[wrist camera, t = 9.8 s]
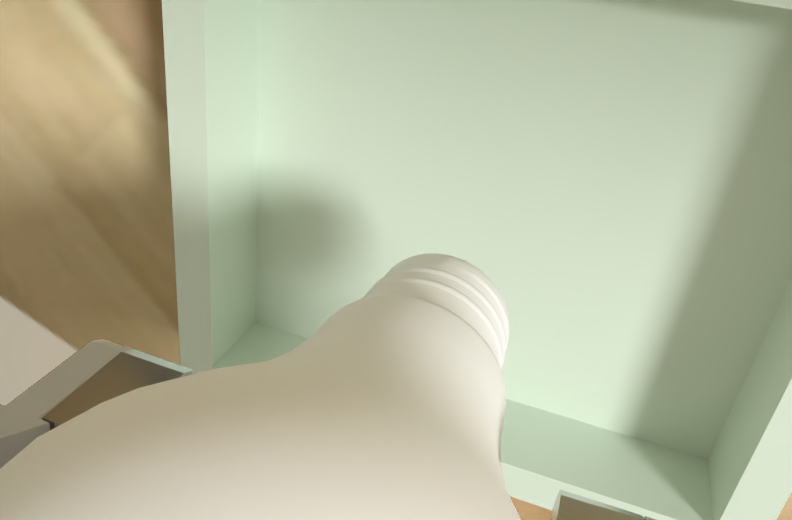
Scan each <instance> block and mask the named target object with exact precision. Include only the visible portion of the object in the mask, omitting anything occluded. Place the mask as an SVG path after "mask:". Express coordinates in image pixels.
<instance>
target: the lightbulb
mask: <svg viewBox="0 0 792 520" xmlns="http://www.w3.org/2000/svg"><path fill="white" fill-rule="evenodd" d="M509 329H510V317H509V310H508V307H507V304H506V301H505V299H504V297H503V295H502V293H501V291H500V290H499V288H498V287H497V286H496V284H495V283H494V282H493V281H492V280H491V278H490V277H489V276H487V275H486V274H485V273H484V272H483V271H481V270H480V269H479V268H478V267H476V266H474V265H472V264H471V263H469V262H467V261H465V260H462V259H460V258H457V257H454V256H450V255H445V254H439V253H425V254H420V255H415V256H412V257H409V258H407V259H404V260H402V261H400V262H399V263H398V264H396V265H395V266H393V267H392V268H391V269H390V270H389V271H388V272H387V274H386V275H385V276H384V277H383V278H381V279H380V280H379V281H377V282H376V283H375V285H374V286H373V287H372V288H371V289H370V290H369V292H367V293H366V295H365V296H364V297H363V298H362V299H359V300H357V301H354V302H352V303H350V304H347V305H345V306H344V307H342V308H341V309H339V310H338V311H337V312H335V313H334V314H332V315H331V316H330V317H329V318H328V319H327V320H326V321H325V322H324V323H323V324H322V326H321V327H320V328H319V329H318V330H317V331H316V332H315V333H314V334H313V335H312V336H311V337H310V338H309V339H307V340H306V341H305V342H303V343H302V344H300V345H299V346H298V347H296V348H295V349H293V350H292V351H291V352H288V353H286V354H283V355H281V356H279V357H276V358H274V359H271V360H269V361H265V362H258V363H251V364H244V365H237V366H230V367H224V368H217V369H212V370H208V371H204V372H200V373H196V374H192V375H188V376H184V377H180V378H176V379H172V380H168V381H164V382H160V383H156V384H152V385H148V386H144V387H140V388H137V389H135V390H132V391H130V392H127V393H125V394H122V395H120V396H117V397H115V398H112V399H110V400H107V401H105V402H102V403H100V404H98V405H97V406H95V407H93V408H91V409H89V410H87V411H85V412H84V413H82V414H80V415H78V416H76V417H74V418H72V419H71V420H69V421H67V422H65V423H63V424H61V425H59V426H58V427H56V428H54V429H52V430H50V431H48V432H46V433H45V434H43V435H41V436H39V437H37V438H36V439H35V440H34V441H32V442H31V443H30V444H29V445H28V446H27V447H25V448H24V449H23V450H22V451H21V452H19V453H18V454H17V455H16V456H15V457H14V458H12V459H11V460H10V461H9V462H8V463H7V464H5V465H4V466H3V467H2V468H1V469H0V520H521V519H520V517H519V515H518V513H517V511H516V509H515V507H514V505H513V503H512V501H511V499H510V497H509V495H508V493H507V491H506V487H505V483H504V479H503V474H502V470H501V442H500V438H501V432H502V427H503V422H504V416H505V409H506V402H507V401H506V391H505V382H504V378H503V375H502V372H501V371H502V366H503V363H504V359H505V352H506V350H507V346H508V339H509Z"/></svg>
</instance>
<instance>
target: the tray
mask: <svg viewBox="0 0 792 520" xmlns="http://www.w3.org/2000/svg"><path fill="white" fill-rule="evenodd" d="M162 16H163V36H164V55H165V75H166V94H167V114H168V133H169V153H170V172H171V192H172V212H173V231H174V251H175V270H176V290H177V309H178V329H179V348H180V365H181V366H183V367H186V368H189V369H192V370H194V371H195V372H197V373H200V372H204V371H208V370H212V369H217V368H224V367H230V366H237V365H244V364H251V363H258V362H265V361H269V360H271V359H274V358H276V357H279V356H281V355H283V354H286V353H288V352H291V351H292V350H293V349H295V348H296V347H298V346H299V345H300V344H302V343H303V342H305V341H306V340H307V339H309V338H310V337H311V336H312V335H313V334H314V333H315V332H316V331H317V330H318V329H319V328H320V327H321V326H322V324H323V323H324V322H325V321H326V320H327V319H328V318H329V317H330V316H331V315H332V314H334V313H335V312H337V311H338V310H339V309H341V308H342V307H344V306H345V305H347V304H350V303H352V302H354V301H357V300H359V299H362V298H363V297H364V296H365V295H366V293H367V292H369V290H370V289H371V288H372V287H373V286H374V285H375V283H376V282H377V281H379V280H380V279H381V278H383V277H384V276H385V275H386V274H387V272H388V271H389V270H390V269H391V268H392V267H393V266H395V265H396V264H398V263H399V262H400V261H402V260H404V259H407V258H409V257H412V256H415V255H420V254H425V253H439V254H445V255H450V256H454V257H457V258H460V259H462V260H465V261H467V262H469V263H471V264H472V265H474V266H476V267H478V268H479V269H480V270H481V271H483V272H484V273H485V274H486V275H487V276H489V277H490V278H491V280H492V281H493V282H494V283H495V284H496V286H497V287H498V288H499V290H500V291H501V293H502V295H503V297H504V299H505V301H506V304H507V307H508V310H509V317H510V329H509V339H508V346H507V350H506V352H505V359H504V363H503V366H502V371H501V372H502V375H503V378H504V382H505V391H506V401H507V402H506V409H505V416H504V422H503V427H502V432H501V438H500V442H501V470H502V474H503V479H504V483H505V487H506V491H507V493H508V495H509V496H511V497H514V498H517V499H520V500H523V501H526V502H529V503H532V504H534V505H537V506H540V507H543V508H546V509H549V510H552V509H553V506H554V503H555V500H556V497H557V495H558V493H559V490H560V489H561V490H564V491H567V492H570V493H573V494H576V495H580V496H583V497H586V498H589V499H592V500H595V501H598V502H602V503H605V504H608V505H611V506H614V507H617V508H621V509H624V510H627V511H630V512H633V513H636V514H639V515H642V516H643V517H645V516H647V517H650V518H653V519H656V520H776V519H777V517H778V515H779V514H780V512H781V510H782V508H783V507H784V505H785V503H786V501H787V499H788V498H789V496H790V494H791V492H792V0H162Z"/></svg>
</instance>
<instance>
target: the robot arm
mask: <svg viewBox="0 0 792 520" xmlns="http://www.w3.org/2000/svg"><path fill="white" fill-rule="evenodd" d="M196 373H197V372H195V371H194V370H192V369H189V368H186V367H183V366H181V365H178V364H175V363H172V362H169V361H167V360H164V359H161V358H158V357H155V356H153V355H150V354H147V353H144V352H141V351H139V350H136V349H130V348H128V347H125V346H122V345H119V344H117V343H114V342H111V341H108V340H106V339H98V340H94V341H90V342H89V343H88V344H86V345H85V346H84V347H82V348H81V349H80V350H78V351H77V352H76V353H74V354H73V355H72V356H71V357H69V358H68V359H67V360H65V361H64V362H63V363H61V364H60V365H59V366H57V367H56V368H55V369H53V370H52V371H51V372H49V373H48V374H47V375H46V376H44V377H43V378H42V379H40V380H39V381H38V382H36V383H35V384H34V385H33V386H31V387H30V388H28V389H27V390H26V391H25V392H23V393H22V394H21V395H19V396H18V397H17V398H15V399H14V400H13V401H11V402H10V403H9V404H7V405H6V406H3V405H0V469H1V468H2V467H3V466H4V465H5V464H7V463H8V462H9V461H10V460H11V459H12V458H14V457H15V456H16V455H17V454H18V453H19V452H21V451H22V450H23V449H24V448H25V447H27V446H28V445H29V444H30V443H31V442H32V441H34V440H35V439H36V438H37V437H39V436H41V435H43V434H45V433H46V432H48V431H50V430H52V429H54V428H56V427H58V426H59V425H61V424H63V423H65V422H67V421H69V420H71V419H72V418H74V417H76V416H78V415H80V414H82V413H84V412H85V411H87V410H89V409H91V408H93V407H95V406H97V405H98V404H100V403H102V402H105V401H107V400H110V399H112V398H115V397H117V396H120V395H122V394H125V393H127V392H130V391H132V390H135V389H137V388H140V387H144V386H148V385H152V384H156V383H160V382H164V381H168V380H172V379H176V378H180V377H184V376H188V375H192V374H196ZM550 520H656V519H653V518H650V517H647V516H645V517H643V516H642V515H639V514H636V513H633V512H630V511H627V510H624V509H621V508H617V507H614V506H611V505H608V504H605V503H602V502H598V501H595V500H592V499H589V498H586V497H583V496H580V495H576V494H573V493H570V492H567V491H564V490H561V489H560V490H559V493H558V495H557V497H556V500H555V503H554V506H553V509H552V512H551V518H550Z"/></svg>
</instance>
